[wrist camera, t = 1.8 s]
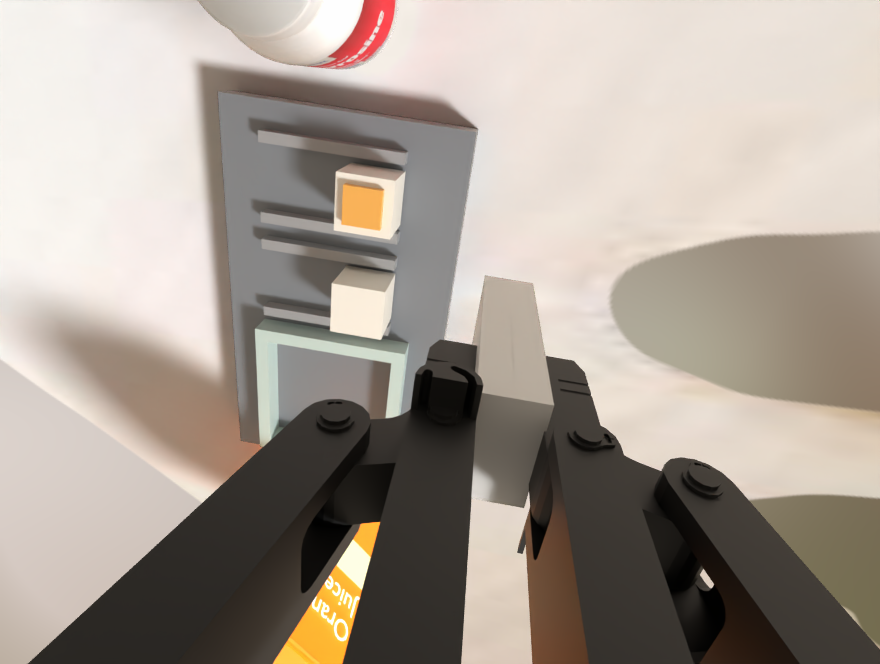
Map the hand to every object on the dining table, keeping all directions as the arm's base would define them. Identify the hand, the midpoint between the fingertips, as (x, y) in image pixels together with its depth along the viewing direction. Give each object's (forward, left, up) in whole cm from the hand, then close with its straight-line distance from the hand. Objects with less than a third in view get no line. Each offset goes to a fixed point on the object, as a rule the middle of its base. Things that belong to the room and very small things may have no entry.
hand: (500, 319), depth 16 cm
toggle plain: (+6, -7, -13) cm, 16 cm away
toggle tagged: (0, -7, -13) cm, 15 cm away
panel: (+8, -9, -16) cm, 20 cm away
